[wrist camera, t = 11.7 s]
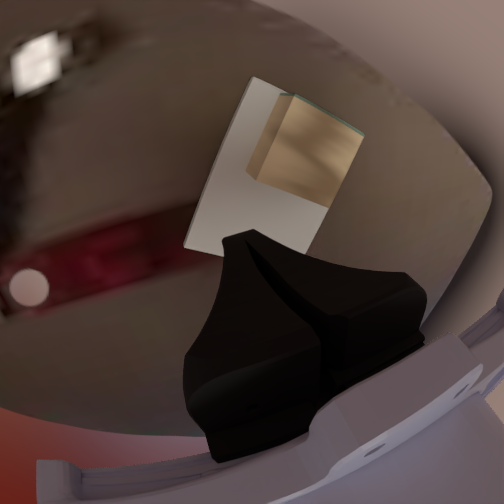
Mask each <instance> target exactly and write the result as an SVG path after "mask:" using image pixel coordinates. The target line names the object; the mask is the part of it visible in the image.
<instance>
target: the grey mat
mask: <svg viewBox="0 0 504 504" xmlns="http://www.w3.org/2000/svg"><path fill="white" fill-rule="evenodd" d="M280 93H287V92H285V91H283V90H281V89H279V88H277V87H275V86H273V85H271V84H269V83H267V82H264V81H262V80H260V79H258V78H256V77H251V78H250V81H249V83H248V85H247V87H246V89H245V91H244V93H243V96H242V98H241V100H240V102H239V104H238V107H237V109H236V111H235V113H234V116H233V118H232V120H231V123H230V125H229V127H228V130H227V132H226V134H225V137H224V139H223V141H222V144H221V146H220V149H219V151H218V153H217V156H216V158H215V161H214V163H213V166H212V168H211V171H210V173H209V176H208V178H207V181H206V183H205V186H204V189H203V191H202V194H201V197H200V199H199V202H198V205H197V207H196V210H195V213H194V215H193V218H192V221H191V224H190V226H189V229H188V232H187V235H186V238H185V241H184V243H183V244H184V248H188V249H193V250H197V251H201V252H206V253H210V254H214V255H219V256H223V257H224V249H223V245H222V239H223V238H224V237H227V236H230V235H234V234H237V233H240V232H244V231H247V230H251V229H255V230H257V231H259V232H260V233H262V234H264V235H266V236H267V237H269V238H271V239H273V240H275V241H277V242H279V243H281V244H283V245H285V246H287V247H289V248H291V249H293V250H296V251H298V252H300V253H303V254H305V253H306V251H307V250H308V248H309V246H310V244H311V242H312V240H313V238H314V236H315V234H316V232H317V230H318V229H319V227H320V225H321V223H322V221H323V219H324V217H325V215H326V213H327V211H328V209H329V208H326V207H324V206H322V205H319V204H317V203H314V202H311V201H309V200H306V199H304V198H301V197H299V196H296V195H293V194H291V193H288V192H286V191H283V190H280V189H277V188H275V187H272V186H269V185H267V184H264V183H261V182H258V181H256V180H255V179H254V178H252V177H251V176H250V175H249V174H248V173H247V172H246V171H245V170H246V168H247V166H248V164H249V161H250V159H251V157H252V154H253V152H254V150H255V148H256V145H257V143H258V141H259V138H260V136H261V134H262V132H263V130H264V127H265V125H266V123H267V121H268V118H269V116H270V114H271V112H272V110H273V108H274V105H275V103H276V101H277V99H278V97H279V95H280Z"/></svg>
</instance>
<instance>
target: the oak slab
mask: <svg viewBox="0 0 504 504" xmlns="http://www.w3.org/2000/svg"><path fill="white" fill-rule="evenodd" d="M364 135H365V134H363V133H362V132H360V131H359V130H357V129H356V128H354V127H352V126H351V125H349V124H348V123H346V122H345V121H343V120H341V119H340V118H338V117H336V116H335V115H333V114H331V113H330V112H328V111H326V110H324V109H323V108H321V107H319V106H317V105H316V104H314V103H312V102H310V101H308V100H307V99H305V98H303V97H301V96H299V95H297V94H295V93H280V95H279V97H278V99H277V101H276V103H275V105H274V108H273V110H272V112H271V114H270V116H269V118H268V121H267V123H266V125H265V127H264V130H263V132H262V134H261V136H260V138H259V141H258V143H257V145H256V148H255V150H254V152H253V154H252V157H251V159H250V161H249V164H248V166H247V168H246V170H245V171H246V172H247V173H248V174H249V175H250V176H251V177H252V178H254V179H255V180H256V181H258V182H261V183H264V184H267V185H269V186H272V187H275V188H277V189H280V190H283V191H286V192H288V193H291V194H293V195H296V196H299V197H301V198H304V199H306V200H309V201H311V202H314V203H317V204H319V205H322V206H324V207H326V208H330V206H331V204H332V202H333V200H334V198H335V196H336V194H337V192H338V190H339V188H340V186H341V184H342V182H343V179H344V177H345V175H346V173H347V171H348V169H349V167H350V165H351V163H352V161H353V159H354V157H355V155H356V152H357V150H358V148H359V146H360V144H361V142H362V140H363V137H364Z"/></svg>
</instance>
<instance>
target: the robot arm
mask: <svg viewBox="0 0 504 504" xmlns="http://www.w3.org/2000/svg"><path fill="white" fill-rule="evenodd" d="M222 245H223V249H224V259H223V270H222V275H221V281H220V285H219V289H218V293H217V296H216V299H215V302H214V305H213V307H212V310H211V312H210V315H209V317H208V319H207V321H206V323H205V324H204V326H203V328H202V330H201V332H200V334H199V336H198V337H197V339H196V340H195V342H194V343H193V345H192V346H191V348H190V349H189V351H188V352H187V353H186V355H185V359H184V368H183V391H184V397H185V403H186V408H187V411H188V413H189V415H190V416H191V418H192V419H193V420H194V421H195V422H196V423H197V425H198V426H199V427H200V428H201V429H202V430H203V432H204V433H205V435H206V439H207V442H208V446H209V450H210V452H207V453H202V454H198V455H193V456H189V457H184V458H178V459H173V460H168V461H161V462H155V463H148V464H141V465H132V466H122V467H110V468H93V469H92V468H91V469H80V468H79V467H77V466H76V465H74V464H72V463H70V462H68V461H64V460H45V459H38V460H37V504H504V424H503V423H502V421H501V420H500V419H499V418H498V416H497V415H496V414H495V412H494V411H493V410H492V408H491V407H490V406H489V404H488V403H487V402H486V401H485V398H486V397H487V396H488V395H489V394H490V392H492V390H494V389H495V387H496V386H497V385H498V384H499V383H500V382H501V381H502V380H503V379H504V289H503V290H502V292H501V293H500V295H499V298H498V300H497V302H496V305H495V306H494V307H493V308H492V309H491V310H489V311H488V312H487V313H486V314H485V315H484V316H482V317H481V318H480V319H479V320H478V321H476V322H475V323H474V324H472V325H471V326H470V327H469V328H467V329H466V330H465V331H463V332H462V333H461V334H460V335H458V336H456V335H455V334H453V333H446V334H444V335H442V336H440V337H438V338H436V339H434V340H433V341H431V342H429V343H428V344H426V345H425V344H424V343H423V341H424V340H425V337H424V335H423V334H422V333H421V332H420V331H419V327H420V324H421V321H422V318H423V315H424V312H425V309H426V304H427V295H426V292H425V291H424V289H423V288H422V287H421V286H420V285H419V284H418V283H417V282H415V281H414V280H413V279H412V278H411V277H410V276H409V275H408V274H406V273H405V272H383V271H372V270H364V269H357V268H351V267H346V266H342V265H337V264H333V263H329V262H326V261H323V260H319V259H316V258H313V257H310V256H308V255H305V254H303V253H300V252H298V251H296V250H293V249H291V248H289V247H287V246H285V245H283V244H281V243H279V242H277V241H275V240H273V239H271V238H269V237H267V236H266V235H264V234H262V233H260V232H259V231H257V230H255V229H251V230H247V231H244V232H240V233H237V234H234V235H230V236H227V237H224V238H223V239H222Z"/></svg>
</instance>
